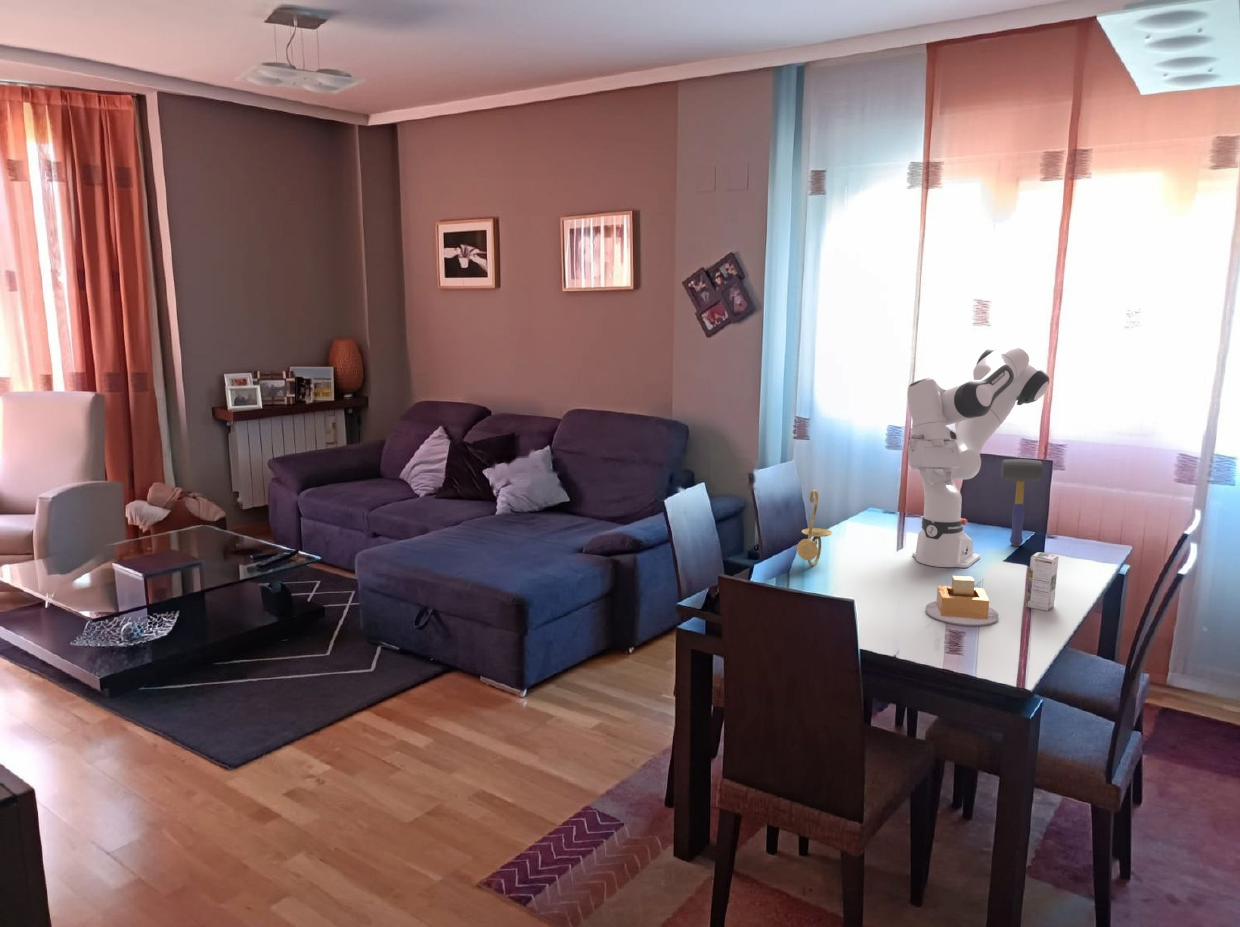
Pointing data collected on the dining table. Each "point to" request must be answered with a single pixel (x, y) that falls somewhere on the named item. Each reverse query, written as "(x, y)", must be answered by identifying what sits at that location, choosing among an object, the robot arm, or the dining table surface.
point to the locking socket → (962, 608)
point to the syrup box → (1042, 581)
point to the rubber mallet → (1020, 489)
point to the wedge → (962, 586)
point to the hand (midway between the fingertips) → (939, 484)
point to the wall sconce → (809, 547)
